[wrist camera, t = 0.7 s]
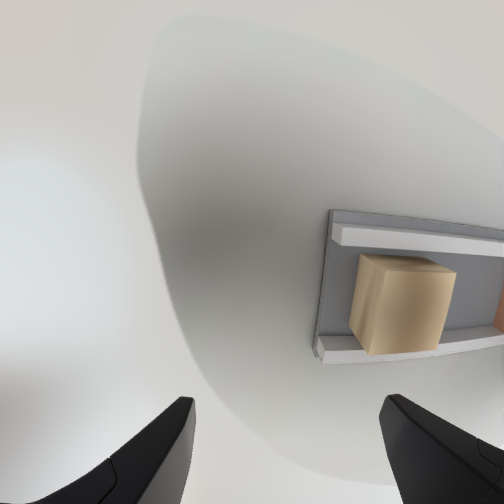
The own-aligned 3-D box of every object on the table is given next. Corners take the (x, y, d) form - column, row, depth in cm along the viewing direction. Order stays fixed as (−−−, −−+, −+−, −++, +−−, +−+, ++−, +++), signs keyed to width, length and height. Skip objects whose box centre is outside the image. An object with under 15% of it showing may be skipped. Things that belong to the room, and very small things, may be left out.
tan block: (423, 257, 18) (456, 273, 15) (409, 323, 20) (436, 349, 16) (359, 253, 18) (385, 270, 14) (348, 325, 19) (367, 355, 16)
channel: (517, 233, 19) (555, 244, 14) (493, 335, 21) (523, 358, 16) (329, 209, 19) (356, 218, 14) (312, 349, 21) (327, 391, 16)
